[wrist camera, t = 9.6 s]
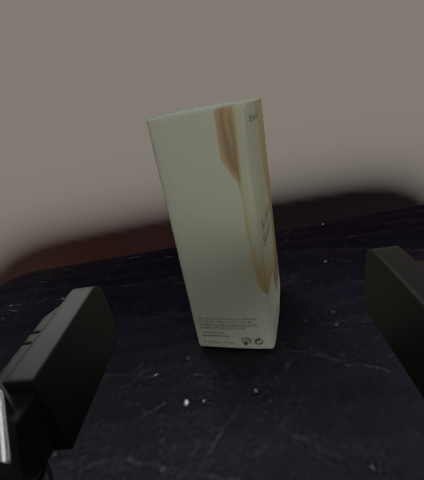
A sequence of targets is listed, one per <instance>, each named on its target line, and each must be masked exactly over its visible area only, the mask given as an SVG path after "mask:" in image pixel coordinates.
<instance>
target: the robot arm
mask: <svg viewBox="0 0 424 480" xmlns="http://www.w3.org/2000/svg"><path fill="white" fill-rule="evenodd" d="M365 303H366V307H367V310H368V313H369V315H370V317H371V318H372V320H373V321H374V323H375V324H376V326H377V327H378V329H379V331H380V332H381V334H382V335H383V337H384V338H385V340H386V341H387V343H388V344H389V346H390V347H391V349H392V350H393V352H394V353H395V355H396V356H397V358H398V360H399V361H400V363H401V364H402V366H403V367H404V369H405V370H406V372H407V373H408V375H409V376H410V378H411V379H412V381H413V382H414V384H415V386H416V387H417V389H418V390H419V392H420V393H421V395H422V396H423V398H424V261H422V260H421V261H415V260H414V259H413V258H412V257H411V256H409V255H408V254H407V253H406V252H405V251H404V250H403V249H402V248H400V247H399V246H393V247H385V248H378V249H370V250H368V252H367V254H366V269H365ZM116 341H117V328H116V325H115V322H114V319H113V316H112V314H111V311H110V308H109V306H108V303H107V300H106V298H105V295H104V293H103V291H102V289H101V288H100V287H99V286H92V287H85V288H77V289H73V290H72V291H71V292H70V293H69V294H68V296H67V297H66V298H65V300H64V301H63V302H62V304H61V305H60V306H59V307H57V308H56V309H55V310H53V311H52V312H51V313H50V314H48V315H47V316H46V317H45V318H43V319H42V321H41V322H40V323H39V324H38V326H37V327H36V328H35V329H34V331H33V334H31V335H30V336H29V337H28V338H27V340H26V341H25V342H24V345H22V346H21V347H20V349H19V350H18V351H17V352H16V354H15V355H14V356H13V358H12V359H11V360H10V361H9V363H8V364H7V365H6V366H5V368H4V369H3V370H2V372H1V373H0V480H54V479H53V475H52V470H51V467H50V465H49V464H48V462H47V461H48V459H49V457H50V455H51V453H52V450H63V449H72V448H73V446H74V443H75V441H76V439H77V436H78V434H79V431H80V429H81V427H82V424H83V422H84V420H85V417H86V415H87V412H88V410H89V408H90V405H91V403H92V400H93V398H94V396H95V393H96V391H97V388H98V386H99V384H100V381H101V379H102V376H103V374H104V372H105V369H106V367H107V365H108V362H109V360H110V357H111V355H112V353H113V350H114V348H115V345H116Z"/></svg>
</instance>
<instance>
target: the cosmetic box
mask: <svg viewBox="0 0 424 480" xmlns="http://www.w3.org/2000/svg"><path fill="white" fill-rule="evenodd" d="M147 125H148V128H149V133H150V137H151V141H152V146H153V150H154V154H155V158H156V163H157V167H158V171H159V175H160V180H161V184H162V188H163V192H164V196H165V201H166V205H167V209H168V213H169V217H170V222H171V226H172V230H173V234H174V238H175V243H176V247H177V251H178V256H179V260H180V264H181V268H182V273H183V277H184V281H185V285H186V289H187V294H188V298H189V302H190V306H191V311H192V315H193V319H194V324H195V328H196V332H197V336H198V341H199V344H200V345H201V346H212V347H229V348H251V349H252V348H255V349H273V348H274V346H275V341H276V335H277V328H278V319H279V307H280V280H279V271H278V259H277V251H276V243H275V233H274V223H273V213H272V204H271V194H270V183H269V174H268V164H267V154H266V144H265V135H264V124H263V114H262V106H261V98H254V99H245V100H238V101H233V102H226V103H220V104H214V105H208V106H202V107H198V108H192V109H188V110H183V111H178V112H174V113H170V114H166V115H161V116H158V117H154V118H152V119H151V120H147Z"/></svg>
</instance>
